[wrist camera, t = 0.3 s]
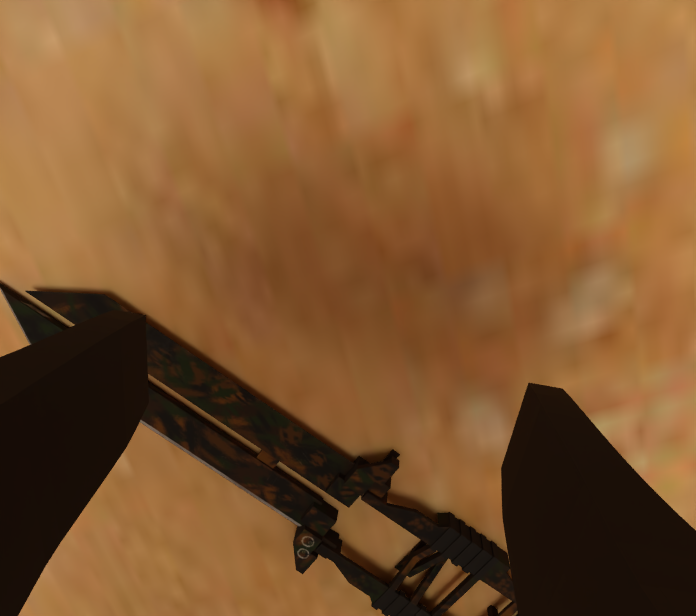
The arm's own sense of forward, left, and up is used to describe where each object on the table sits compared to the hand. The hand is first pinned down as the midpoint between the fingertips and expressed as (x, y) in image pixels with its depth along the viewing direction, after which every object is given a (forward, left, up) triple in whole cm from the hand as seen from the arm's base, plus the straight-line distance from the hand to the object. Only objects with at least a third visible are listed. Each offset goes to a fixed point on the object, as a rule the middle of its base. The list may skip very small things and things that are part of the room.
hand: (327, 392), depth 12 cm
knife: (-9, -4, -11) cm, 15 cm away
